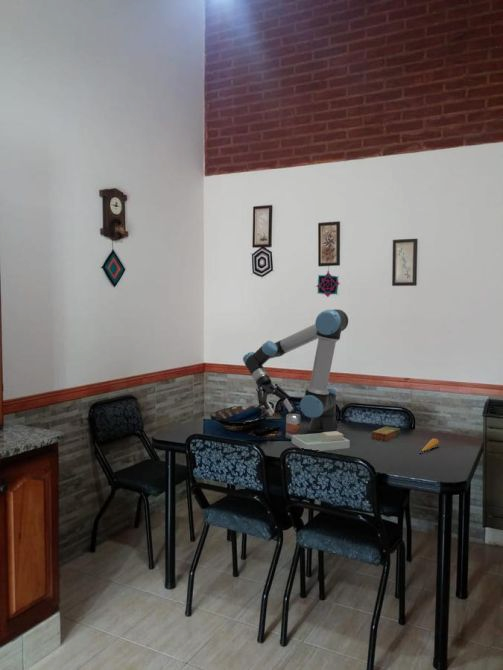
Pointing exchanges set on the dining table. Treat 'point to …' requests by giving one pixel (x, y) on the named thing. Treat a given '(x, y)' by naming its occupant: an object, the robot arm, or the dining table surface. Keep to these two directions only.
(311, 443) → the tote
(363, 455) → the dining table surface
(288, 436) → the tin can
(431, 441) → the carrot
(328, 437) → the beige rectangular block
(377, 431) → the carton
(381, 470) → the dining table surface
